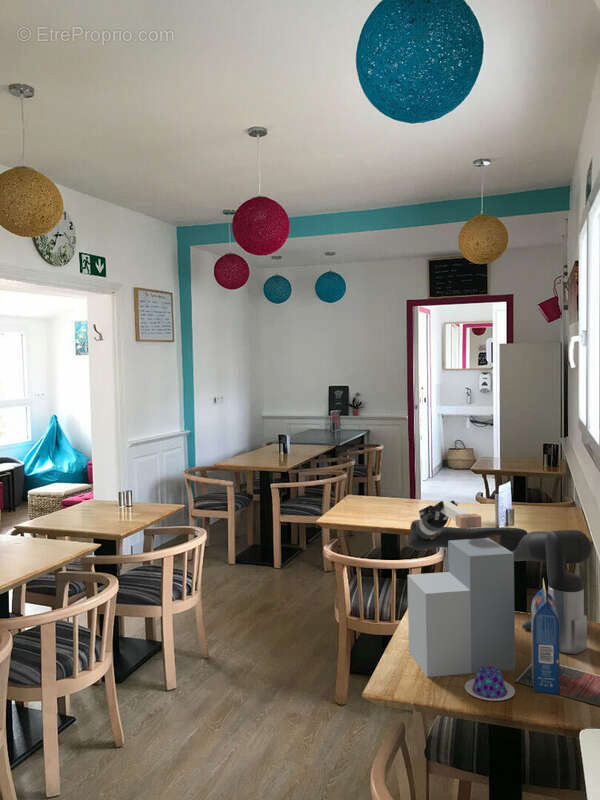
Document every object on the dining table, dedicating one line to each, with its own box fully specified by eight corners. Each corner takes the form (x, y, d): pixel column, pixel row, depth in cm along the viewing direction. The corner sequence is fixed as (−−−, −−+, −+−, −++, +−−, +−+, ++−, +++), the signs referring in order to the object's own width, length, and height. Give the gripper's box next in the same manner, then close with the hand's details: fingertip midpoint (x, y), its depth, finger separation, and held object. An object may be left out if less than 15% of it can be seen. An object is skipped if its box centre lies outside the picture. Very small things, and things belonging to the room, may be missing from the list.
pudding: (462, 699, 164) (461, 678, 164) (467, 677, 175) (467, 657, 175) (513, 706, 160) (513, 685, 160) (516, 683, 171) (515, 663, 171)
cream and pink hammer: (481, 527, 190) (481, 516, 190) (460, 528, 189) (460, 517, 189) (451, 509, 214) (451, 499, 214) (432, 510, 213) (432, 500, 213)
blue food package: (556, 672, 176) (556, 578, 175) (560, 694, 164) (559, 593, 163) (531, 670, 178) (530, 576, 176) (532, 691, 166) (532, 591, 165)
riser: (515, 669, 178) (513, 553, 177) (427, 677, 175) (425, 559, 174) (490, 644, 194) (488, 538, 193) (408, 651, 191) (406, 543, 190)
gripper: (410, 510, 224) (423, 493, 208) (451, 508, 225) (467, 491, 210) (414, 533, 220) (428, 516, 205) (455, 530, 222) (472, 514, 207)
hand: (448, 503), depth 208 cm, fingers closed on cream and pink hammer, 3 cm apart
